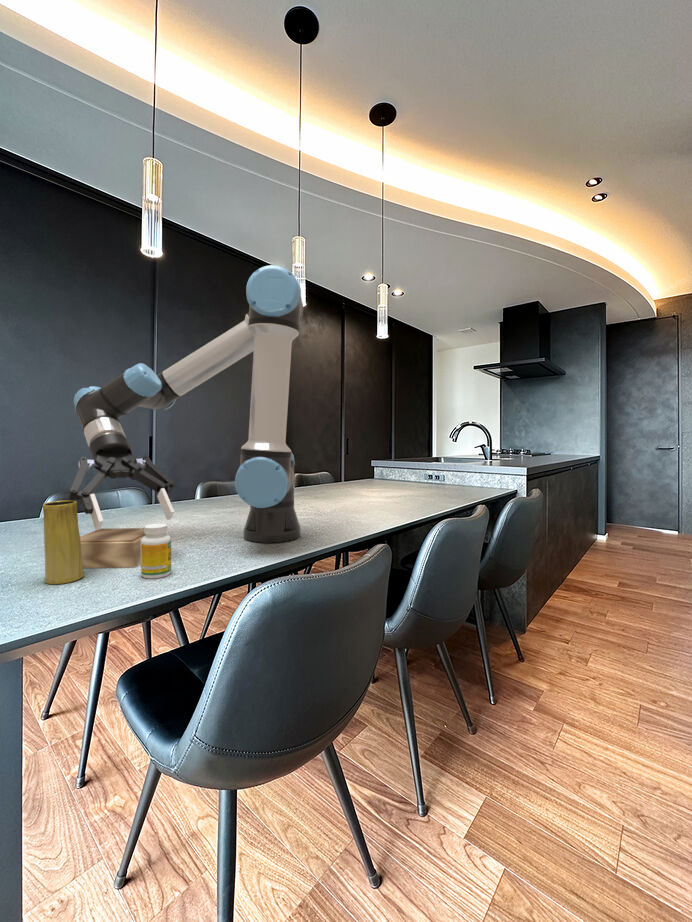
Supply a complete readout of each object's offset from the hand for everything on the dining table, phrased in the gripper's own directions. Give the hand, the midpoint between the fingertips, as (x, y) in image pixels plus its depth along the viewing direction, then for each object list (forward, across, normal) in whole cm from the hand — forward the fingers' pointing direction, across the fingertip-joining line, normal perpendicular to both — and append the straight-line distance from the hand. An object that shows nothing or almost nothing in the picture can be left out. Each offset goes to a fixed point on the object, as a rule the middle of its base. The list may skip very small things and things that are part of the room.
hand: (137, 520), depth 83 cm
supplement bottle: (+11, -1, -3) cm, 12 cm away
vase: (+4, +11, -10) cm, 16 cm away
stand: (-1, 0, -16) cm, 16 cm away
